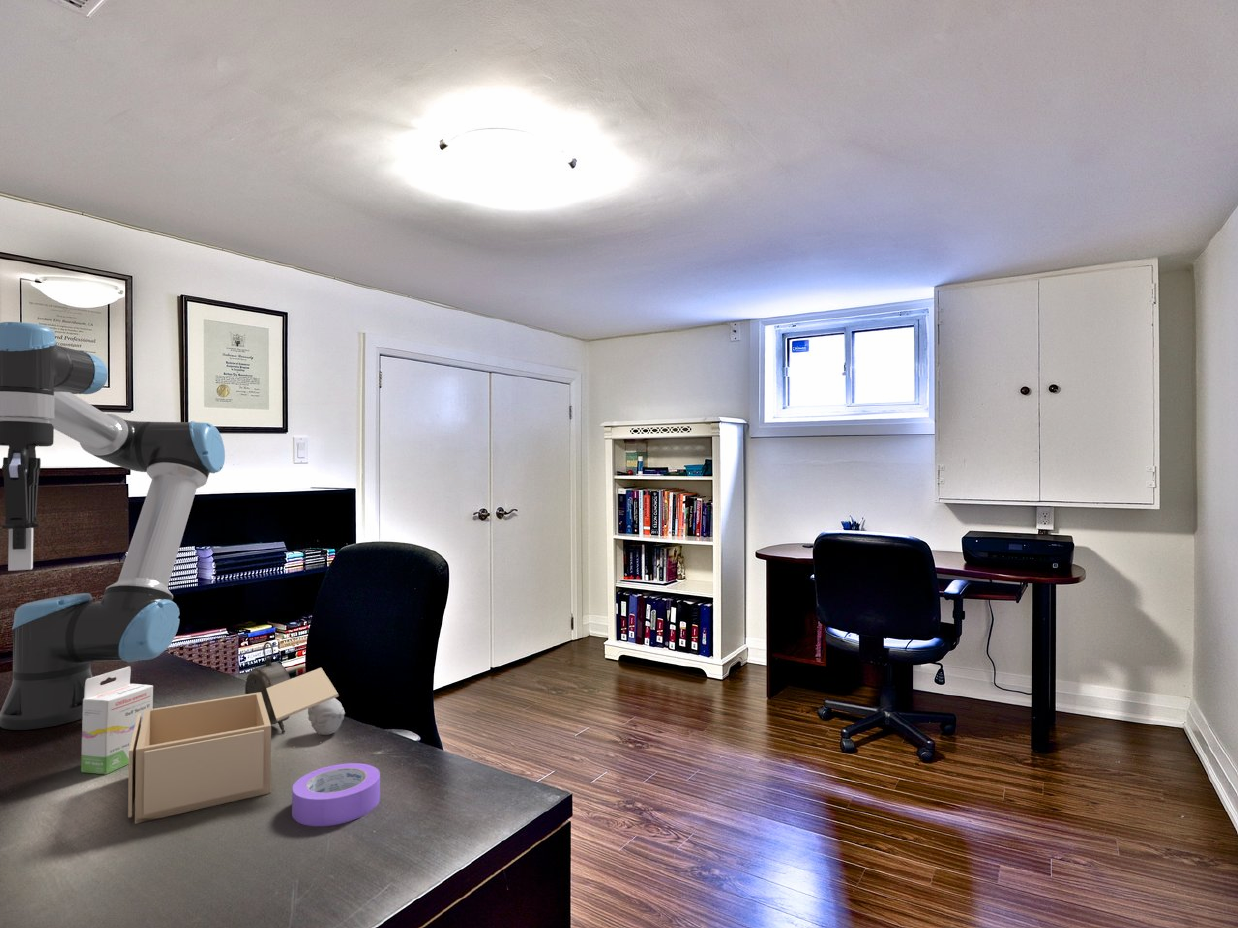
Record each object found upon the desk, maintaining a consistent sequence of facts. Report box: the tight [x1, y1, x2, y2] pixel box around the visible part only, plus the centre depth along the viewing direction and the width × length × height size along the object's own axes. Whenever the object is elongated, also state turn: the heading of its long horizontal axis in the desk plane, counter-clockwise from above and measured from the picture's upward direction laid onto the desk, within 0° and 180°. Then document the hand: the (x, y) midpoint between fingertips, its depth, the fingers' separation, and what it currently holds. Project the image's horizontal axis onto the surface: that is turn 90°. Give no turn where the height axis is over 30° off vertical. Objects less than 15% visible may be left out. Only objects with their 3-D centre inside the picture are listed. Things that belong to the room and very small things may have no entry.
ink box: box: [80, 666, 154, 775], centre depth 110 cm, size 9×5×15 cm, turn 168°
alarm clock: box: [244, 641, 291, 734], centre depth 124 cm, size 11×5×16 cm, turn 52°
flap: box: [266, 667, 340, 721], centre depth 110 cm, size 17×1×9 cm
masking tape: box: [291, 762, 381, 827], centre depth 96 cm, size 12×12×4 cm
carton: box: [127, 692, 272, 824], centre depth 102 cm, size 20×17×10 cm
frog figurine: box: [307, 697, 346, 736], centre depth 122 cm, size 6×7×7 cm
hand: (20, 569), depth 106 cm, fingers closed
